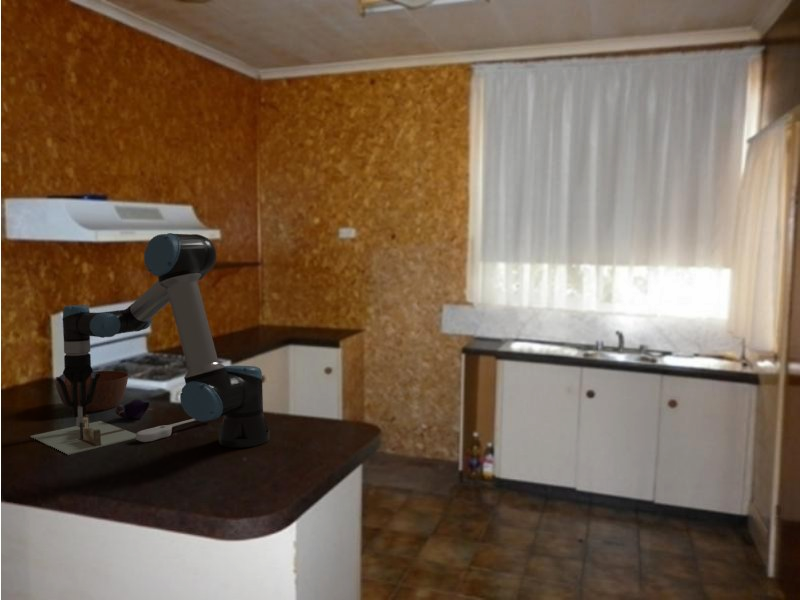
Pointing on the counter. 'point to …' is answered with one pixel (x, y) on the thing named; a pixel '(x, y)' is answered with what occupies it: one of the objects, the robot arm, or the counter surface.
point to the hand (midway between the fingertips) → (79, 426)
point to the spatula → (157, 432)
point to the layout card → (72, 442)
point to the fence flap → (86, 420)
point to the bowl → (100, 390)
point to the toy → (133, 409)
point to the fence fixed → (90, 434)
